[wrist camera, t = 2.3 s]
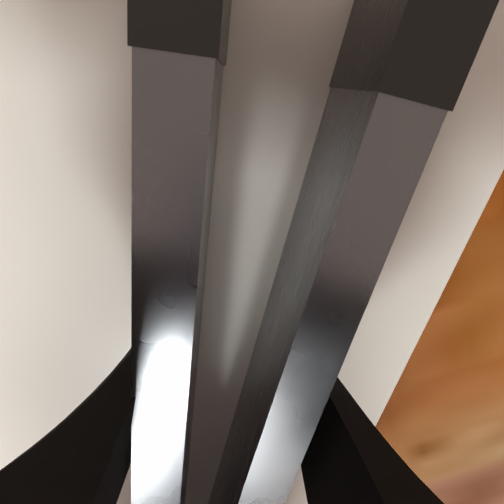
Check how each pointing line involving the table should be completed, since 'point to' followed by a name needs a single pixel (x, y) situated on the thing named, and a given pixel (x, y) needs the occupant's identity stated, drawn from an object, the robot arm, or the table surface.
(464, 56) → the tongs base
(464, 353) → the table surface
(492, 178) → the cutting board
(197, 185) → the tongs arm
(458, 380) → the table surface
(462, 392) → the table surface
